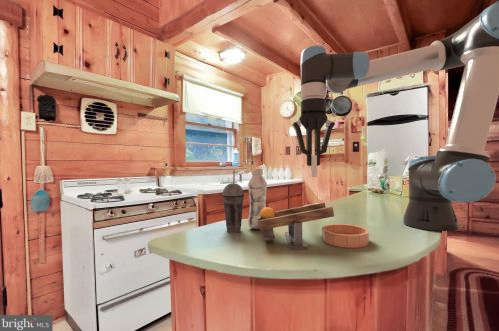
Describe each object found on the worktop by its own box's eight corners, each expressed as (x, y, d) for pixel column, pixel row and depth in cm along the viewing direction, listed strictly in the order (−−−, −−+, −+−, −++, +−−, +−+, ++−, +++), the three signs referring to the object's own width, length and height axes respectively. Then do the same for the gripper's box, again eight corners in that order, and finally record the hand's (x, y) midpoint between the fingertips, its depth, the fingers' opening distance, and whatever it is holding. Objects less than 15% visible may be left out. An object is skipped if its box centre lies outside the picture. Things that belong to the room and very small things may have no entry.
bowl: (357, 234, 77) (357, 223, 77) (377, 247, 65) (376, 235, 65) (317, 234, 77) (317, 224, 77) (330, 248, 65) (329, 235, 65)
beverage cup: (219, 232, 81) (217, 170, 80) (227, 227, 88) (226, 169, 87) (240, 234, 79) (239, 170, 78) (247, 228, 86) (246, 169, 85)
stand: (297, 234, 77) (297, 213, 77) (307, 249, 64) (306, 223, 64) (284, 234, 78) (284, 213, 77) (291, 249, 65) (291, 224, 64)
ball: (275, 218, 73) (272, 204, 73) (276, 221, 69) (273, 207, 69) (261, 221, 73) (258, 207, 73) (262, 224, 69) (259, 210, 69)
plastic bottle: (244, 228, 85) (243, 169, 85) (258, 225, 90) (257, 168, 89) (257, 232, 80) (256, 169, 80) (271, 228, 85) (271, 168, 85)
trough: (321, 215, 82) (317, 197, 82) (336, 227, 67) (332, 205, 67) (260, 227, 82) (256, 208, 82) (262, 241, 67) (257, 219, 67)
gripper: (330, 102, 82) (330, 175, 82) (290, 102, 82) (290, 175, 82) (338, 96, 74) (338, 177, 74) (294, 97, 74) (294, 177, 75)
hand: (313, 176), depth 78 cm, fingers closed
